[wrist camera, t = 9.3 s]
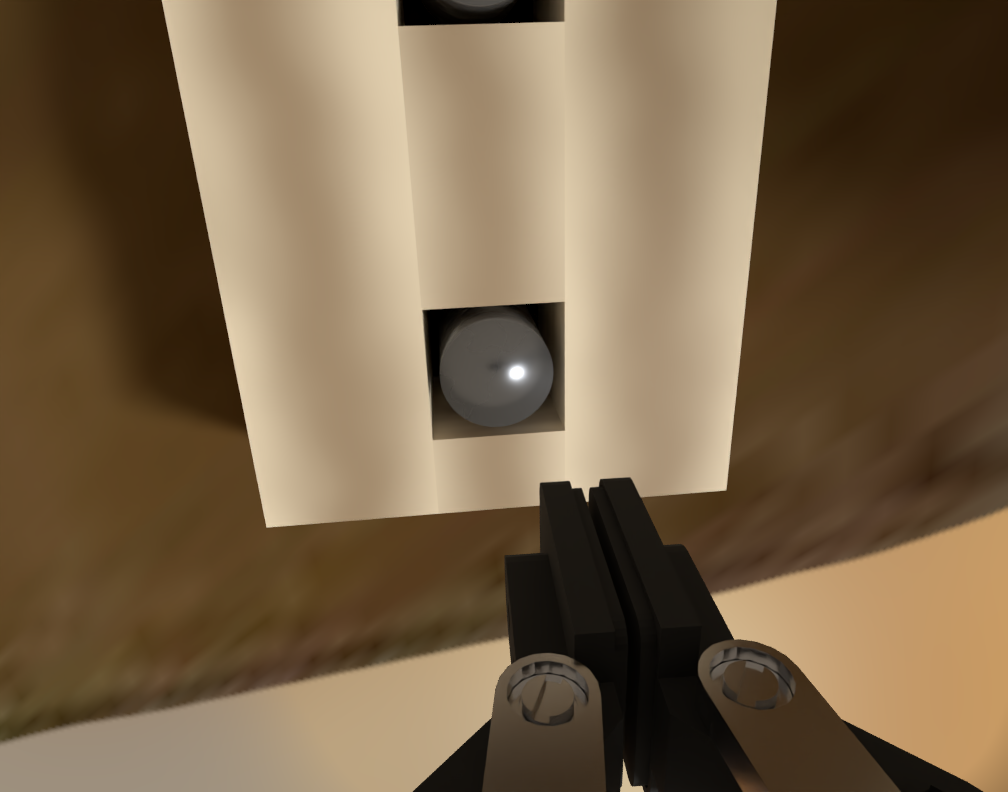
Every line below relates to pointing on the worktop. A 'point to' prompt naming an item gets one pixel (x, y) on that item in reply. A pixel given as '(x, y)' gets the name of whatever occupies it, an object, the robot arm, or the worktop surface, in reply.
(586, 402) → the maple block
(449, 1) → the peg
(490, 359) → the peg
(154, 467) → the worktop surface
